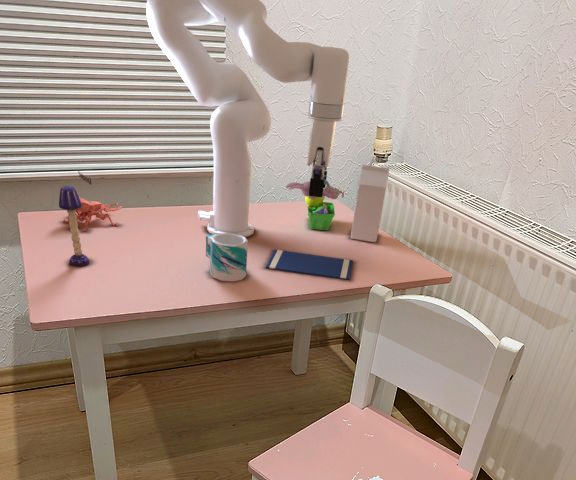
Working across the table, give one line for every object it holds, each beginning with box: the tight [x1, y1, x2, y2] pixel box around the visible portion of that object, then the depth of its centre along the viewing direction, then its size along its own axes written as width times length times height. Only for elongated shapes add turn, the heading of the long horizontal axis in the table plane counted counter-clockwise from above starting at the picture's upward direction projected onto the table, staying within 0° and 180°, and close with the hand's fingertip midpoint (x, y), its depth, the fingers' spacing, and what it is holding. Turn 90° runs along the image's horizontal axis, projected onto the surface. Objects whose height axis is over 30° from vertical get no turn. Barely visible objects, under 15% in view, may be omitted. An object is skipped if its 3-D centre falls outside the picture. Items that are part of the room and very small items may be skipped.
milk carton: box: [350, 164, 390, 243], centre depth 156 cm, size 7×7×19 cm
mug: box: [205, 233, 249, 282], centre depth 131 cm, size 8×12×8 cm
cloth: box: [265, 248, 354, 281], centre depth 141 cm, size 20×12×1 cm, turn 81°
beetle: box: [62, 170, 123, 233], centre depth 149 cm, size 15×12×13 cm
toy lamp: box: [58, 185, 90, 267], centre depth 126 cm, size 5×5×17 cm
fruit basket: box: [304, 196, 336, 231], centre depth 163 cm, size 11×9×11 cm
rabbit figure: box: [285, 175, 345, 200], centre depth 137 cm, size 6×6×15 cm
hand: (317, 191), depth 138 cm, fingers closed on rabbit figure, 7 cm apart
